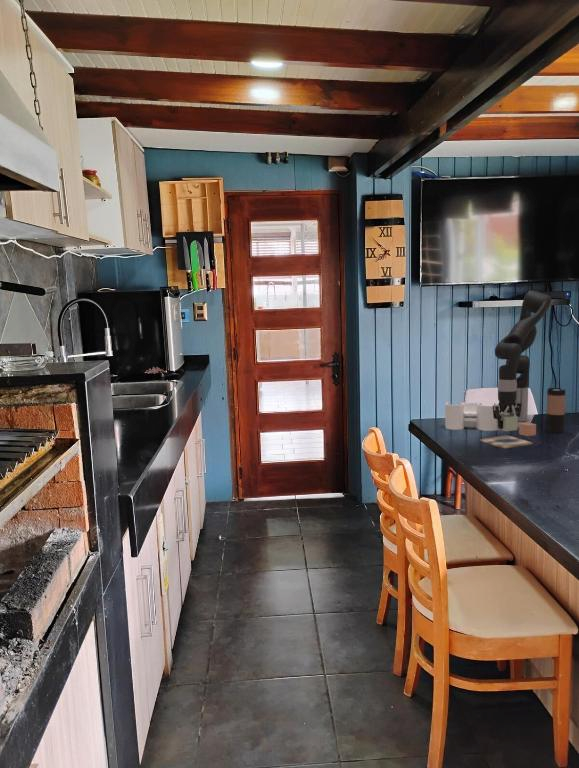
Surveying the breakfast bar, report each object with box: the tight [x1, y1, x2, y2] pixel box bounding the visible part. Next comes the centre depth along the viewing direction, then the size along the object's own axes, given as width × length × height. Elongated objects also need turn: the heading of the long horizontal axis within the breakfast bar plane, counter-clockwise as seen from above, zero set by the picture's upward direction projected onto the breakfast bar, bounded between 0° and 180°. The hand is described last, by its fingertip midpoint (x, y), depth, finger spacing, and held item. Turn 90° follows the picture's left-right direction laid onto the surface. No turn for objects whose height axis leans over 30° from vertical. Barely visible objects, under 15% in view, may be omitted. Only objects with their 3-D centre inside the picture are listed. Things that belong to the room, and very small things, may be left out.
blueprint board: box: [480, 434, 533, 449], centre depth 247 cm, size 15×15×1 cm
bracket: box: [444, 401, 500, 432], centre depth 275 cm, size 25×10×12 cm, turn 74°
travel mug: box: [546, 387, 566, 435], centre depth 261 cm, size 8×8×20 cm
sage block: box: [496, 413, 518, 432], centre depth 245 cm, size 6×6×6 cm
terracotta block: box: [518, 422, 537, 437], centre depth 259 cm, size 5×5×5 cm
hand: (506, 427), depth 246 cm, fingers closed on sage block, 6 cm apart
